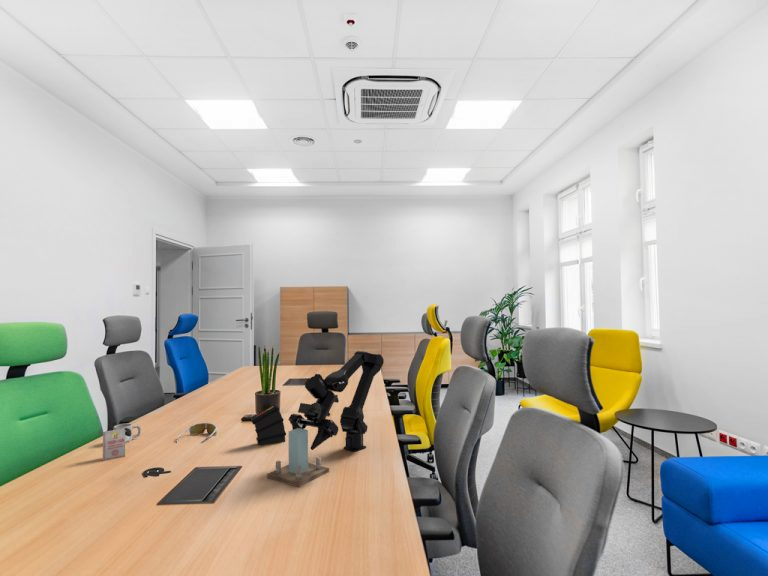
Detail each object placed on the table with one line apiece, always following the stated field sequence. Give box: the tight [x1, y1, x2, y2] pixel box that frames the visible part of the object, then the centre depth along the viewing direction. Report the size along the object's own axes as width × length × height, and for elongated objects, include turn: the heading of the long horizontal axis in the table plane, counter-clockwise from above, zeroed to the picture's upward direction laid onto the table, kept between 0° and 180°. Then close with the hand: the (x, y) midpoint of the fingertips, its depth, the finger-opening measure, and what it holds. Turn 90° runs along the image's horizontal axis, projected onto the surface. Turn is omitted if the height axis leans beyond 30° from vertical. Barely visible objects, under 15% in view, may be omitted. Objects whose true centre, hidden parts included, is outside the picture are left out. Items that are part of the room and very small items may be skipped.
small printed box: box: [102, 428, 126, 461], centre depth 159 cm, size 4×7×10 cm, turn 128°
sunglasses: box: [176, 421, 218, 444], centre depth 181 cm, size 14×15×5 cm
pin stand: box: [266, 457, 330, 488], centre depth 139 cm, size 14×14×5 cm
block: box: [288, 428, 309, 474], centre depth 139 cm, size 4×4×13 cm
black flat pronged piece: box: [142, 466, 172, 478], centre depth 142 cm, size 9×8×1 cm
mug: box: [113, 423, 142, 444], centre depth 179 cm, size 10×7×7 cm, turn 131°
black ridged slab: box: [250, 403, 287, 446], centre depth 173 cm, size 4×13×15 cm, turn 114°
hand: (301, 447), depth 140 cm, fingers open, 9 cm apart
